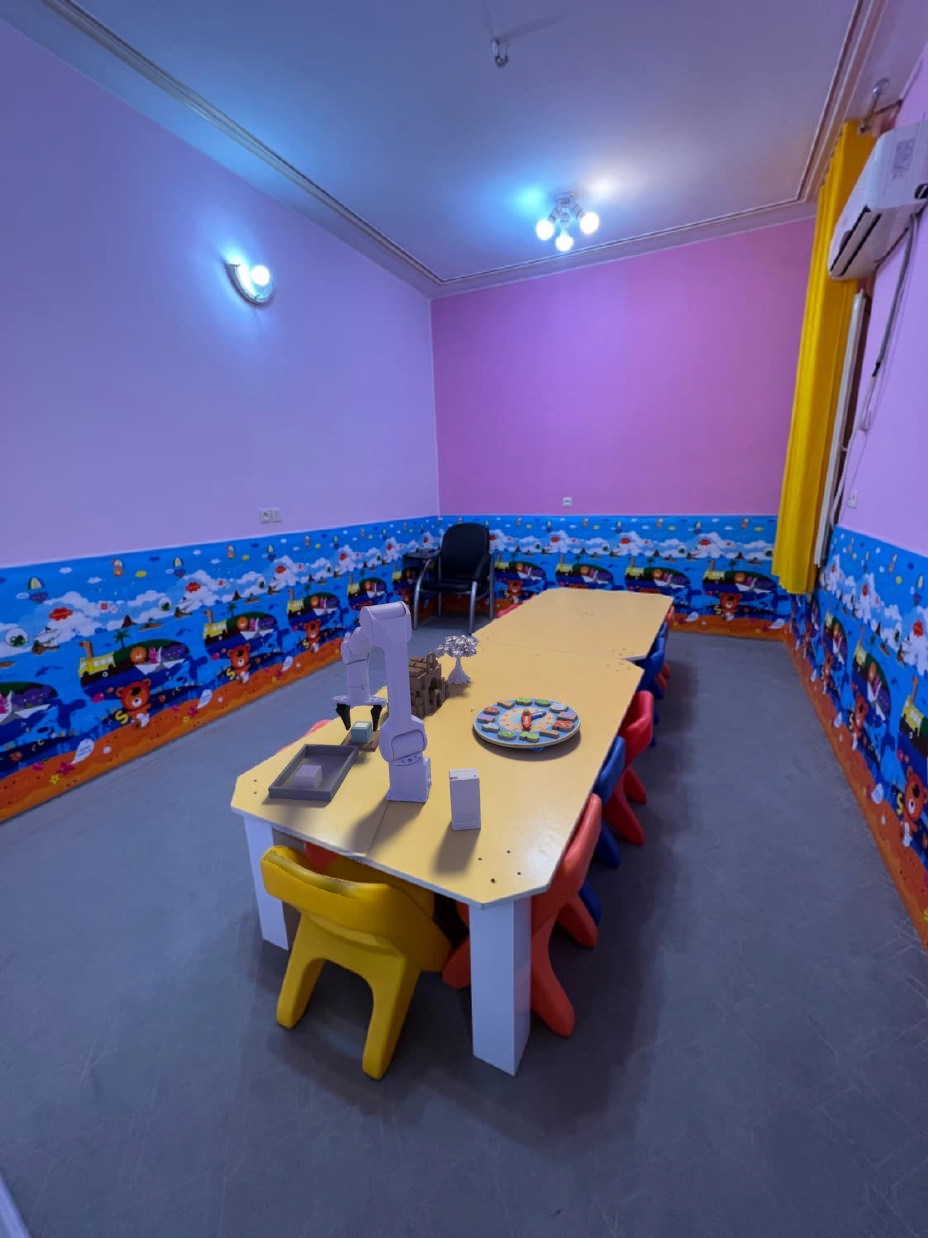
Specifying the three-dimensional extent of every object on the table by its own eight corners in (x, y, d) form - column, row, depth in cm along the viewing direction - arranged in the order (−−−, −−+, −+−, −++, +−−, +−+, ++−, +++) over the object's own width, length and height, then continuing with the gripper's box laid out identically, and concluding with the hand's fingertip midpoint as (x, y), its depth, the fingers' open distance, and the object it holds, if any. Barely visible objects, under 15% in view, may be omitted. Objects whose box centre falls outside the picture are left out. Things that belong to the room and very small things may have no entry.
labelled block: (372, 734, 136) (371, 721, 135) (367, 742, 132) (366, 729, 131) (357, 734, 137) (355, 720, 136) (351, 742, 132) (350, 728, 131)
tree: (473, 668, 187) (473, 627, 182) (490, 684, 172) (489, 639, 168) (428, 675, 181) (426, 633, 176) (441, 692, 166) (440, 646, 162)
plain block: (322, 780, 117) (321, 765, 115) (315, 791, 112) (313, 776, 111) (304, 779, 117) (303, 764, 116) (296, 790, 113) (294, 775, 112)
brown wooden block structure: (418, 688, 170) (416, 637, 165) (455, 695, 164) (454, 642, 159) (381, 713, 152) (377, 657, 147) (421, 723, 145) (418, 664, 140)
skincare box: (478, 815, 104) (478, 765, 101) (481, 830, 100) (481, 778, 96) (450, 818, 103) (448, 768, 100) (451, 832, 99) (450, 780, 96)
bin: (359, 756, 128) (358, 746, 127) (331, 803, 109) (330, 791, 108) (306, 753, 129) (304, 743, 128) (269, 799, 111) (268, 788, 110)
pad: (385, 733, 139) (385, 730, 139) (375, 752, 129) (375, 748, 129) (351, 732, 140) (351, 728, 140) (339, 750, 130) (338, 746, 130)
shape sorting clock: (507, 697, 162) (507, 680, 160) (596, 721, 145) (597, 702, 143) (452, 736, 138) (452, 716, 136) (551, 769, 121) (551, 748, 119)
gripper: (388, 678, 133) (391, 723, 137) (337, 677, 135) (341, 721, 138) (381, 688, 126) (384, 735, 130) (327, 687, 128) (332, 733, 132)
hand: (362, 729), depth 134 cm, fingers open, 7 cm apart
